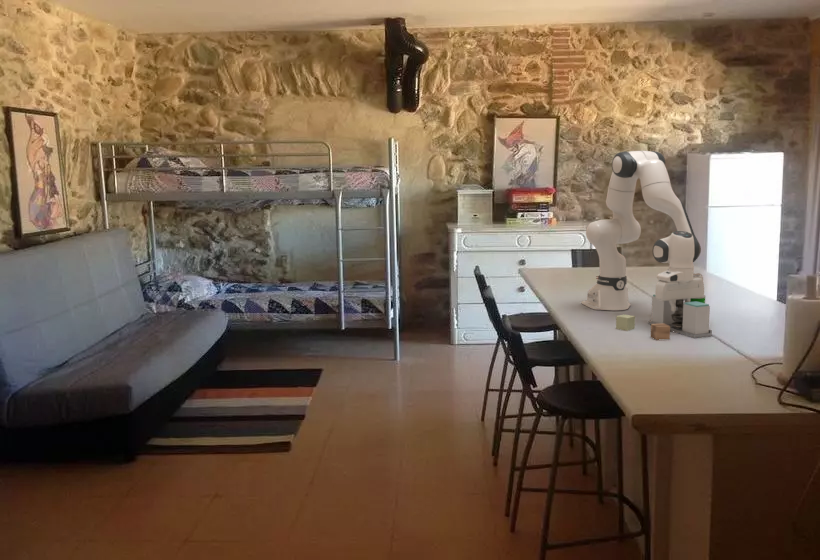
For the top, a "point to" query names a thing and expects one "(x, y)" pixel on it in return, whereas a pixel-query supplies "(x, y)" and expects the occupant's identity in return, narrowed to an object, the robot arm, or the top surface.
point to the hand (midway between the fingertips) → (679, 310)
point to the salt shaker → (678, 313)
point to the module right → (696, 317)
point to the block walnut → (660, 331)
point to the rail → (679, 330)
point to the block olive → (625, 322)
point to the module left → (661, 311)
